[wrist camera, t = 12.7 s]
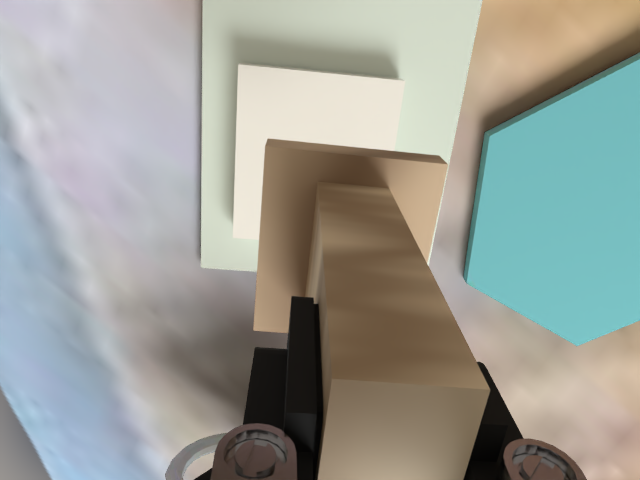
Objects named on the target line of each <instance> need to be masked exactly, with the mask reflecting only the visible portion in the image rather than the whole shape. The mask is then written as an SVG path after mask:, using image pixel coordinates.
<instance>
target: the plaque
mask: <svg viewBox="0 0 640 480" xmlns="http://www.w3.org/2000/svg"><path fill="white" fill-rule="evenodd" d="M463 278H464V280H465V282H466V283H467V284H468V285H470V286H472V287H474V288H475V289H477V290H479V291H481V292H483V293H484V294H486V295H488V296H490V297H491V298H493V299H495V300H497V301H498V302H500V303H502V304H504V305H506V306H507V307H509V308H511V309H513V310H514V311H516V312H518V313H520V314H521V315H523V316H525V317H527V318H529V319H530V320H532V321H534V322H536V323H537V324H539V325H541V326H543V327H544V328H546V329H548V330H550V331H552V332H553V333H555V334H557V335H559V336H560V337H562V338H564V339H566V340H567V341H569V342H571V343H573V344H575V345H576V346H578V345H581V344H583V343H586V342H588V341H591V340H593V339H596V338H598V337H600V336H603V335H605V334H608V333H610V332H613V331H615V330H618V329H620V328H622V327H625V326H627V325H630V324H632V323H635V322H637V321H640V53H638V54H636V55H634V56H632V57H630V58H628V59H626V60H624V61H622V62H620V63H618V64H616V65H614V66H612V67H610V68H609V69H607V70H605V71H603V72H601V73H599V74H597V75H595V76H593V77H591V78H589V79H587V80H585V81H583V82H581V83H579V84H578V85H576V86H574V87H572V88H570V89H568V90H566V91H564V92H562V93H560V94H558V95H556V96H554V97H552V98H550V99H548V100H546V101H545V102H543V103H541V104H539V105H537V106H535V107H533V108H531V109H529V110H527V111H525V112H523V113H521V114H519V115H517V116H515V117H514V118H512V119H510V120H508V121H506V122H504V123H502V124H500V125H498V126H496V127H494V128H492V129H490V130H488V131H486V132H485V134H484V140H483V147H482V154H481V160H480V167H479V173H478V180H477V187H476V194H475V201H474V207H473V214H472V221H471V228H470V235H469V242H468V249H467V256H466V263H465V269H464V276H463Z"/></svg>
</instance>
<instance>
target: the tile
mask: <svg viewBox="0 0 640 480" xmlns="http://www.w3.org/2000/svg"><path fill="white" fill-rule="evenodd" d="M404 86H405V80H403V79H401V78H392V77H382V76H372V75H362V74H352V73H342V72H332V71H322V70H311V69H301V68H291V67H281V66H271V65H261V64H251V63H240V64H238V86H237V118H236V150H235V182H234V214H233V238H240V239H254V240H259V233H260V217H261V202H262V186H263V170H264V154H265V145H266V142H267V139H268V138H269V139H279V140H289V141H299V142H309V143H319V144H329V145H339V146H349V147H359V148H369V149H379V150H389V151H394V150H395V144H396V138H397V131H398V125H399V118H400V112H401V106H402V99H403V93H404Z"/></svg>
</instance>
